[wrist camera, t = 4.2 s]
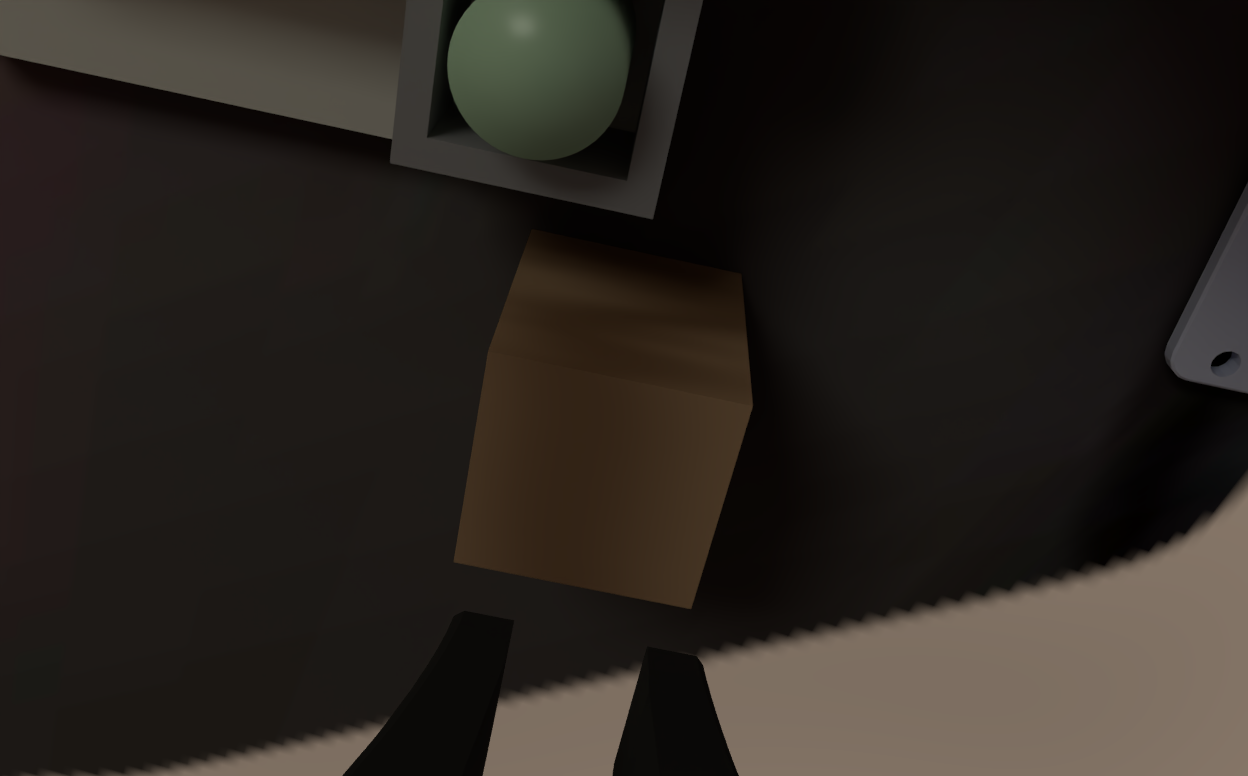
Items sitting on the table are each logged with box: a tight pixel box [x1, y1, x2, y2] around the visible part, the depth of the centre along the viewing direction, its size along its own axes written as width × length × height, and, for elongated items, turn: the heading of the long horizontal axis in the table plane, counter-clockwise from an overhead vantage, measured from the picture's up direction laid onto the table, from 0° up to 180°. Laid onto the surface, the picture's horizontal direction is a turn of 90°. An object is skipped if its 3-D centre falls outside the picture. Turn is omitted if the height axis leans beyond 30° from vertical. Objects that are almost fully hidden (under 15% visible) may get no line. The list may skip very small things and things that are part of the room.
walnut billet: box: [454, 229, 753, 609], centre depth 20 cm, size 4×4×5 cm
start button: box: [447, 0, 636, 160], centre depth 16 cm, size 2×2×3 cm
